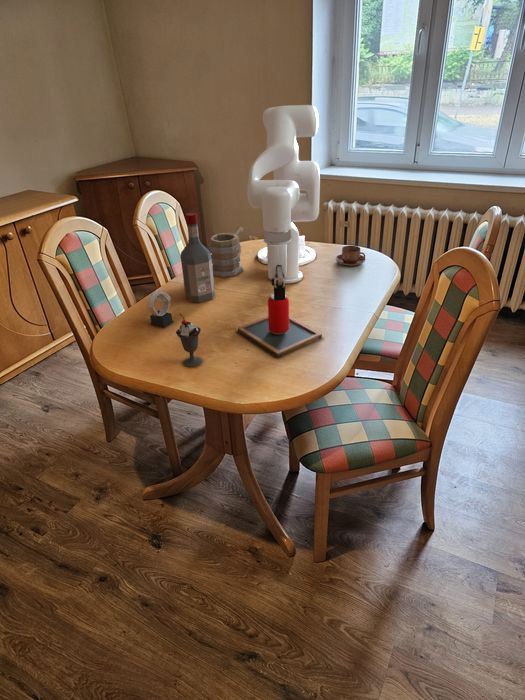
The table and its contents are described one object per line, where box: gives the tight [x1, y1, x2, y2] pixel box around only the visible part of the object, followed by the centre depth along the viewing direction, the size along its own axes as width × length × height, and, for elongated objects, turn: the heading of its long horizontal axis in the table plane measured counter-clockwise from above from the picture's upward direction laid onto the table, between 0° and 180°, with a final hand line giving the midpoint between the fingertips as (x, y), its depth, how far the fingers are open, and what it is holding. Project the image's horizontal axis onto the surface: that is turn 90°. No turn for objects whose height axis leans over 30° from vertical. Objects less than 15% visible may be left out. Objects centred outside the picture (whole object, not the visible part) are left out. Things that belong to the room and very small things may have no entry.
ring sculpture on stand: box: [147, 290, 174, 328], centre depth 147 cm, size 6×8×11 cm
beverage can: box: [267, 292, 290, 335], centre depth 137 cm, size 6×6×12 cm
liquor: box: [180, 212, 216, 304], centre depth 158 cm, size 9×9×30 cm
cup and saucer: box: [335, 245, 366, 267], centre depth 188 cm, size 12×12×6 cm
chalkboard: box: [237, 315, 323, 359], centre depth 140 cm, size 20×17×2 cm
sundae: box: [175, 313, 202, 368], centre depth 125 cm, size 7×7×15 cm
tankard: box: [208, 226, 244, 278], centre depth 185 cm, size 20×13×15 cm, turn 148°
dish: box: [257, 235, 317, 267], centre depth 196 cm, size 25×25×11 cm
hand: (278, 292), depth 134 cm, fingers open, 9 cm apart
